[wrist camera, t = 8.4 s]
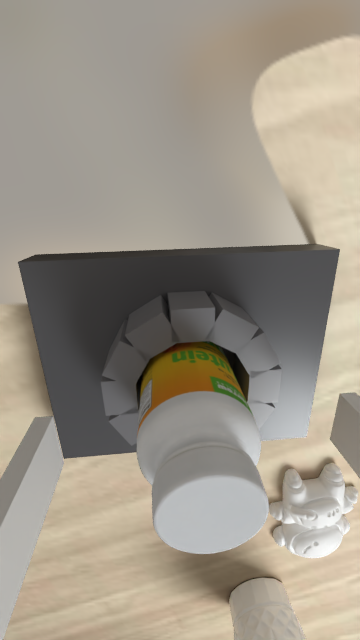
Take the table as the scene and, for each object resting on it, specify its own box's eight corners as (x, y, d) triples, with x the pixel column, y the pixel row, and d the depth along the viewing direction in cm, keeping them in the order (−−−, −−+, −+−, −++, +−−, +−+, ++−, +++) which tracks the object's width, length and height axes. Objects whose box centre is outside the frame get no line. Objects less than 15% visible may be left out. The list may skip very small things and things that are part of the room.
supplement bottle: (237, 337, 18) (317, 470, 9) (211, 406, 20) (257, 571, 11) (153, 319, 17) (152, 446, 8) (134, 392, 19) (116, 561, 10)
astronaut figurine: (359, 454, 27) (383, 483, 24) (339, 537, 32) (357, 569, 29) (269, 464, 27) (283, 495, 24) (262, 547, 31) (273, 581, 28)
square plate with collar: (72, 433, 23) (49, 498, 18) (35, 254, 18) (-12, 274, 13) (291, 414, 24) (328, 470, 19) (317, 244, 19) (377, 257, 14)
